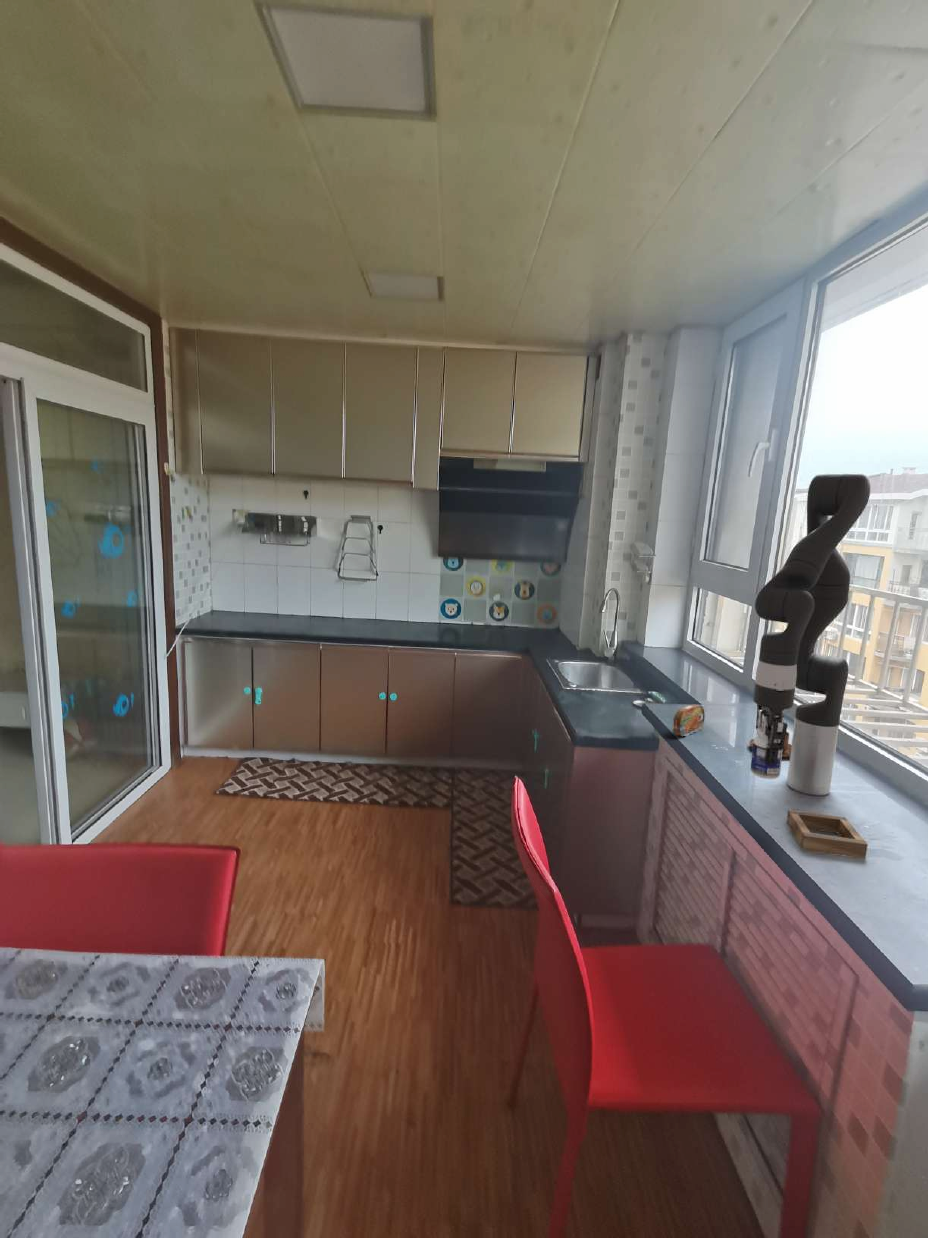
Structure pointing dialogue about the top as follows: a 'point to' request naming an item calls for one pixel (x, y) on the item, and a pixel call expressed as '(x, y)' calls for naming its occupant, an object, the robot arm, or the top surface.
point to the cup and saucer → (786, 749)
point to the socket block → (842, 845)
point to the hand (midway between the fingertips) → (766, 758)
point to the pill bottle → (763, 758)
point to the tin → (688, 719)
